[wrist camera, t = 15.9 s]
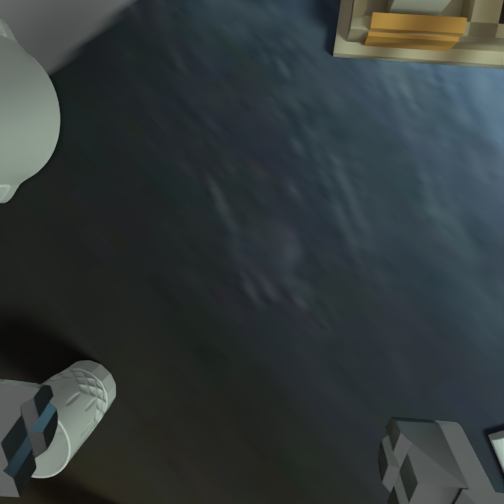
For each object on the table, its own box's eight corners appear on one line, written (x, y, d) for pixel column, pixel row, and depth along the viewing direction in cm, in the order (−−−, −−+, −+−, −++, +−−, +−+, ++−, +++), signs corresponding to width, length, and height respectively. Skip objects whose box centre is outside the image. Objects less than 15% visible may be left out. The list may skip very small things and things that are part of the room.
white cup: (113, 352, 44) (58, 401, 34) (127, 413, 45) (78, 477, 36) (53, 357, 46) (-17, 406, 36) (68, 417, 47) (5, 479, 37)
